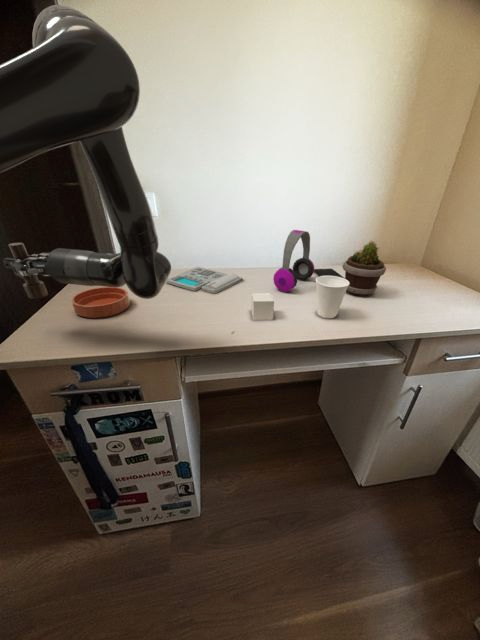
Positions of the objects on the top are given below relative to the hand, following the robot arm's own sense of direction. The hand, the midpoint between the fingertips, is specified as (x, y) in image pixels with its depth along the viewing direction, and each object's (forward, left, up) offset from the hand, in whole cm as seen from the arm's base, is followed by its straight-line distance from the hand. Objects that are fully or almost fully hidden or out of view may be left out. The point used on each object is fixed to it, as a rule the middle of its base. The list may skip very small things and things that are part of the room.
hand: (12, 261), depth 64 cm
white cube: (+59, -6, -19) cm, 62 cm away
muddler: (+3, -1, -8) cm, 9 cm away
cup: (+79, -11, -19) cm, 82 cm away
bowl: (+13, +12, -19) cm, 26 cm away
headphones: (+80, +16, -19) cm, 84 cm away
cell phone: (+99, +20, -19) cm, 103 cm away
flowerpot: (+101, +3, -19) cm, 103 cm away
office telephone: (+47, +28, -19) cm, 58 cm away
